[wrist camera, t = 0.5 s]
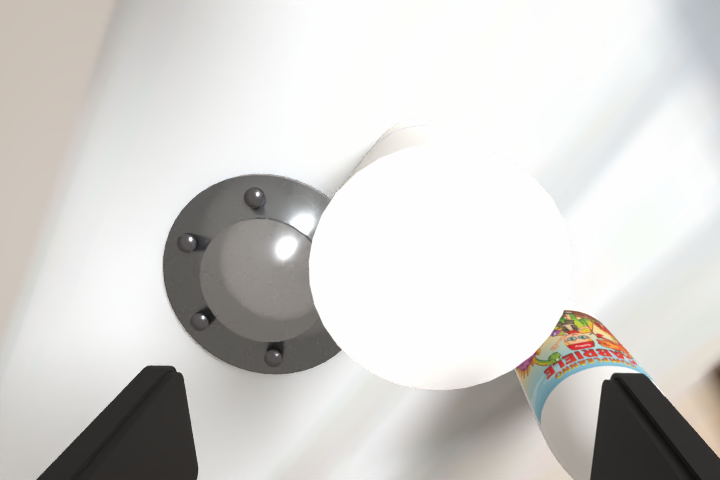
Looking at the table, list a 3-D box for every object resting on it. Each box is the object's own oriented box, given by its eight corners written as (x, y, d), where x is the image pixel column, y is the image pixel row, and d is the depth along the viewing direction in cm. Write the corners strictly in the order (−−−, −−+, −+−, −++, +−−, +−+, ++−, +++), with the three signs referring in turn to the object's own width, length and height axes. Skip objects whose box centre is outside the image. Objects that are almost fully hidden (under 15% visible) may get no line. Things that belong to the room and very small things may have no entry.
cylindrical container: (366, 124, 36) (292, 156, 12) (460, 114, 35) (576, 130, 12) (374, 214, 38) (324, 394, 14) (464, 207, 37) (570, 386, 13)
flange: (149, 178, 39) (142, 181, 38) (365, 168, 37) (364, 170, 36) (184, 370, 44) (178, 377, 43) (376, 370, 42) (375, 377, 41)
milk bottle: (613, 358, 40) (807, 592, 21) (526, 391, 41) (631, 637, 22) (579, 280, 38) (755, 456, 19) (490, 318, 40) (570, 514, 21)
